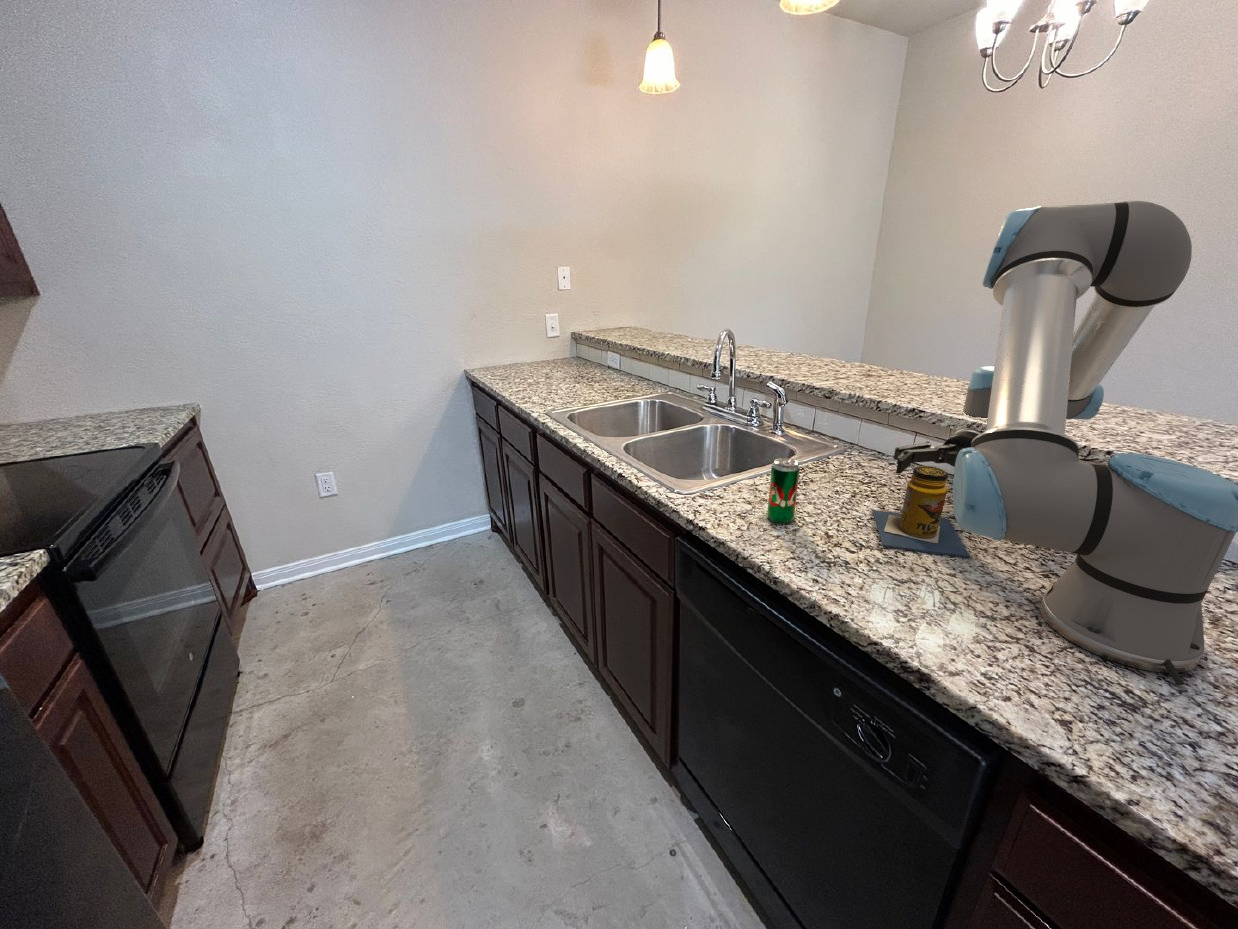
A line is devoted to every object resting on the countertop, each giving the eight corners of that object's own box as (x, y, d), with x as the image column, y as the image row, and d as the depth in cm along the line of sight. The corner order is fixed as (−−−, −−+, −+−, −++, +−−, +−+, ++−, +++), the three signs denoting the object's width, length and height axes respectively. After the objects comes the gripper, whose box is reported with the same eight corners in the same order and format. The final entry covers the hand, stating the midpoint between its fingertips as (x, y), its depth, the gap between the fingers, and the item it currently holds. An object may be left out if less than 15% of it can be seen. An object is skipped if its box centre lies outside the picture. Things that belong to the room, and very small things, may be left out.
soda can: (790, 513, 100) (797, 457, 95) (796, 525, 95) (803, 466, 91) (764, 512, 100) (769, 456, 96) (769, 524, 95) (774, 466, 91)
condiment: (937, 544, 86) (952, 480, 82) (883, 532, 91) (895, 471, 87) (939, 527, 92) (954, 466, 88) (888, 516, 97) (899, 458, 92)
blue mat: (969, 558, 83) (970, 556, 83) (882, 546, 87) (883, 544, 87) (947, 520, 95) (948, 518, 95) (872, 512, 99) (873, 510, 99)
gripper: (1035, 478, 100) (1016, 514, 86) (900, 451, 116) (866, 477, 102) (1045, 443, 97) (1028, 474, 83) (906, 420, 114) (871, 442, 100)
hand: (938, 476), depth 93 cm, fingers open, 13 cm apart
